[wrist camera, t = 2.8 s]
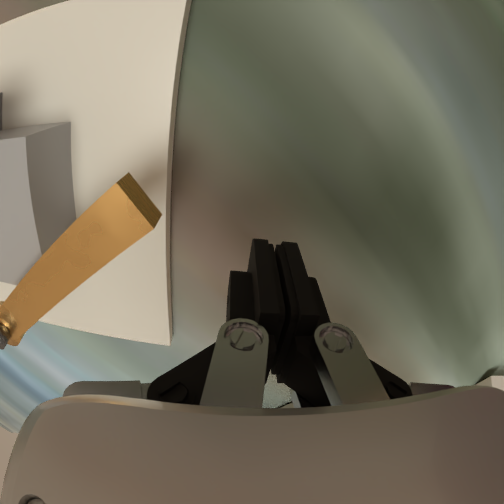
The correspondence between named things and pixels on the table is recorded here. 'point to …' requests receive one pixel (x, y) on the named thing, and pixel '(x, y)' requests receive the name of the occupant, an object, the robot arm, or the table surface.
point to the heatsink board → (91, 149)
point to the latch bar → (78, 255)
